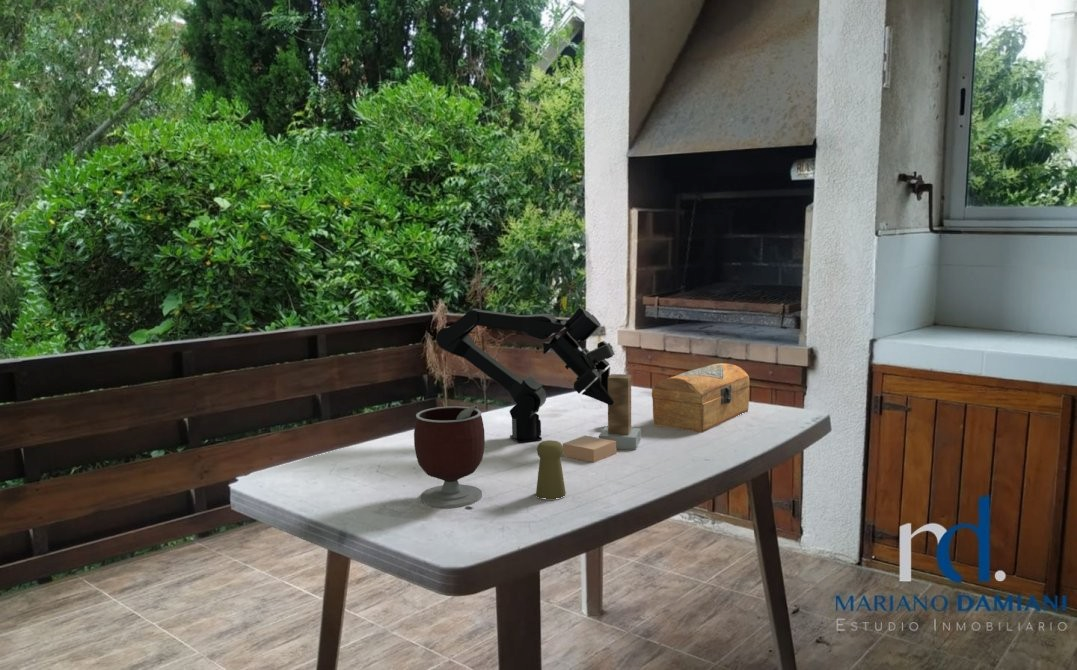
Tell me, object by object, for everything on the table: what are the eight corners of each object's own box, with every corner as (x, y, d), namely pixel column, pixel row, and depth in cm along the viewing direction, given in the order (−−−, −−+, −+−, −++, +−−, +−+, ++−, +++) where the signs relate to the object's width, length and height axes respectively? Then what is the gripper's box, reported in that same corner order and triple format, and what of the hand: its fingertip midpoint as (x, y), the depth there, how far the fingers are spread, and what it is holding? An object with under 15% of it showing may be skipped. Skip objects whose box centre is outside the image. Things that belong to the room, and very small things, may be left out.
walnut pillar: (608, 434, 192) (607, 377, 190) (611, 429, 196) (611, 374, 195) (628, 435, 190) (628, 378, 188) (631, 430, 195) (631, 374, 193)
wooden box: (705, 434, 202) (705, 381, 200) (650, 425, 213) (650, 375, 211) (754, 412, 225) (755, 365, 223) (702, 405, 235) (703, 359, 234)
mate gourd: (402, 497, 157) (398, 399, 154) (457, 481, 167) (454, 389, 164) (450, 516, 146) (447, 411, 143) (506, 498, 156) (503, 399, 153)
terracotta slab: (562, 455, 184) (562, 443, 184) (585, 447, 191) (585, 435, 191) (594, 462, 179) (593, 449, 178) (616, 453, 185) (616, 441, 185)
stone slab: (598, 447, 190) (598, 435, 190) (605, 438, 199) (605, 426, 199) (635, 449, 188) (635, 437, 188) (640, 440, 197) (640, 428, 196)
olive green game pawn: (531, 492, 159) (530, 439, 157) (559, 488, 161) (558, 436, 159) (542, 501, 153) (541, 447, 152) (570, 497, 155) (569, 443, 154)
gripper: (587, 337, 183) (633, 385, 181) (601, 327, 201) (644, 371, 199) (554, 369, 186) (600, 417, 184) (571, 356, 204) (613, 400, 202)
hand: (615, 400), depth 192 cm, fingers open, 9 cm apart
